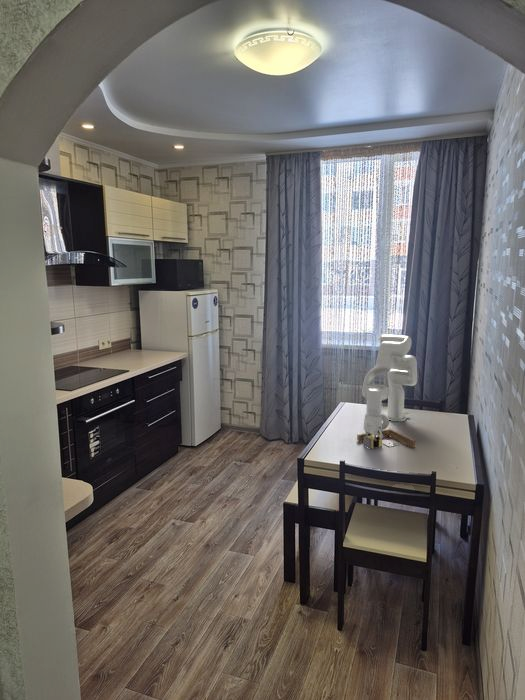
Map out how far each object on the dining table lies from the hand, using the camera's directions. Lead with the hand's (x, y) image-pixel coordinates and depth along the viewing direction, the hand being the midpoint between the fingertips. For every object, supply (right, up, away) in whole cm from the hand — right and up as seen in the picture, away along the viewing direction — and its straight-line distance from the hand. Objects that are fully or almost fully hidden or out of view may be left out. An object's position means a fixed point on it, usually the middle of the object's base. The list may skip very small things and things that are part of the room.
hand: (372, 444), depth 243 cm
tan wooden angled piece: (+7, 0, +2) cm, 8 cm away
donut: (+10, +4, +25) cm, 27 cm away
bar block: (0, -1, 0) cm, 1 cm away
